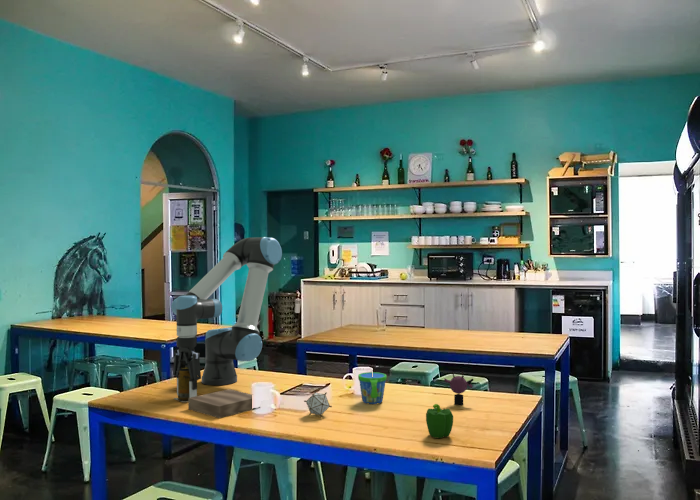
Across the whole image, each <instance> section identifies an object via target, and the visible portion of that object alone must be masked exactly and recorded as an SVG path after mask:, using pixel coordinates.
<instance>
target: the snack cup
mask: <svg viewBox="0 0 700 500" xmlns="http://www.w3.org/2000/svg"><path fill="white" fill-rule="evenodd" d="M357 379H358V381H359V386H360V394H361V401H362V402H363V403H364V404H367V403H369V404H368V405H376V404H377V403H379V404H382V403H383V401H384V394H385V389H386V388H385V387H386V381H387V374H386V373H382V372H377V371H375V372H373V377H372V372H371V371H369V372H368V371H367V372H362V373H359V374H358V378H357ZM381 402H382V403H381ZM377 405H378V404H377Z"/></svg>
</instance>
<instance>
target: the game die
mask: <svg viewBox="0 0 700 500" xmlns="http://www.w3.org/2000/svg"><path fill="white" fill-rule="evenodd" d="M313 392H314V393H312V395H311V396H309V398H308V399H306V400H303V402H304V403H306V405H307V407H308V410H309V414H308V415H309V416H311V414H312V415H317V416H320V418H321V417H323V416H322V415H323V414H324V413H325V412H326V411H327V410H328V409H329V408H332V407H333V406H332V405H330V403H329V400H328V398H327V396H326V395H327V394H328V392H324V393H320V392H319V393H318V392H316V390H314V391H313Z"/></svg>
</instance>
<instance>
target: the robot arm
mask: <svg viewBox="0 0 700 500" xmlns="http://www.w3.org/2000/svg"><path fill="white" fill-rule="evenodd" d="M282 256H283V250H282V247H281V245H280V242H279V241H278V240H277V239H276V238H274V237H267V236H260V237H259V236H258V237H246V238H242V239H241V240H238V241H237V242H236V243H234V244H233V245H232V246H231V247H230V248H228V249H227V250H226V251H225V252H224V253H223V256H222V258H221V259H220V260H219V261H218V262H217V263H216V264H215V265H214V266H213V267H212V269H210V270H209V271H208V272H207V273H206V274H205V275H204V276H203V277H202V278H201V279H200V280H199V281H198V282H197V283H196V284H195V285H194V286H193V287H192V288H191V289H190V290H189V291H188V292H186V293H185V295H179V296H178V297H177V298H175V299H174V300H173V301H172V303H171V306H170V307H171V311H172V313H173V314H174V315H175V316H176V329H175V331H176V336H177V337H176V347H177V348H178V349H174V351H173V353H174V357H173V358H174V360H173V371H172V375H173V376H175V378H176V395H177V396H178V376H179V369H180V368H181V367H186V366H187V367H188V369H189V374H190V378H191V380H189V396H190V398H191V397H195V396H198V392H197V391H198V381H199V380H201V384H203V385H206V386H207V385H208V386H225V385H231V384H234V383H237V382H238V374H237V371H236V369H235V364H234V361H238V362H239V361H240V362H252V361H254V360H255V359H257V357H259V355H260V353H261V352H262V348H263V341H262V337H261V336H260V335H259V334H260V330H259V328H258V323H259V318H260V313H261V309H262V305H263V301H264V295H265V291H266V287H267V283H268V278H269V274H270V273H271V272H272V271H274V267H275V265H277V264H279V262H280V261H281V259H282ZM245 265H246V266H247V267H248V273H247V277H246V281H245V285H244V290H243V295H242V298H241V302H240V303H241V304H240V306H239V307H240V308H239V312H238V316H237V320H236V323H235V324H233V325H232V326H231V327H223V328H215V329H214V328H213V329H209V330H207V331H206V332H205V338H204V339H205V340H204V341H205V342H204V343H205V366H204V369H203V373H202V374H201V363H200V356H201V354H200V352H196V351H195V347H197V345H198V337H197V335H198V320H204V319H205V320H206V319H215V318H218V317H220V316H221V315H222V312H223V304H222V302H221V301H220V300H219V299H217V298H209V297H211V296H212V295H213V294H214V292H216V290H217V289H218V288H219V287H221V285H222V284H223V283H225V281H226V280H227V279H228V278H229V277H230V276H231V275H232V274H233V273H235V271H237V270H241V268H242V267H244V266H245ZM193 377H194V378H193Z"/></svg>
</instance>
